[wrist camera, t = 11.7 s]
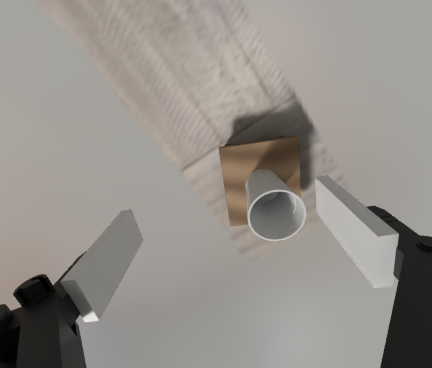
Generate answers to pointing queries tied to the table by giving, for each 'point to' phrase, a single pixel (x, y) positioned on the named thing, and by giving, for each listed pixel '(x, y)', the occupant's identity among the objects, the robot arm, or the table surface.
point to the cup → (273, 206)
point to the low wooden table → (254, 160)
